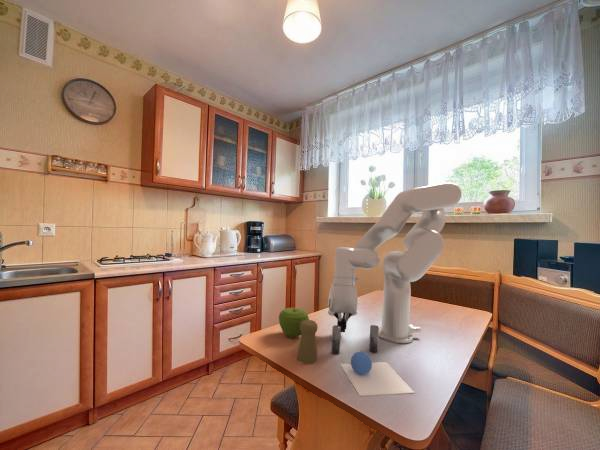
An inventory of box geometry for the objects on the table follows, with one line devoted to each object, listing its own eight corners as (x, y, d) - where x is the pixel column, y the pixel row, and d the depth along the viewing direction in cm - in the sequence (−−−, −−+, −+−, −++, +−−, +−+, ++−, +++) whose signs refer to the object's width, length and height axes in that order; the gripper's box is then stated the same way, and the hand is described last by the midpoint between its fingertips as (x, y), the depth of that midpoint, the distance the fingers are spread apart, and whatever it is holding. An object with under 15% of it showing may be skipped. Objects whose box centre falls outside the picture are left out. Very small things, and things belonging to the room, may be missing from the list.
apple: (314, 337, 92) (315, 309, 92) (291, 345, 85) (293, 314, 85) (293, 327, 100) (295, 301, 100) (271, 334, 93) (273, 306, 93)
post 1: (338, 350, 83) (339, 325, 83) (340, 354, 80) (341, 328, 80) (330, 350, 82) (331, 325, 82) (332, 354, 80) (333, 328, 80)
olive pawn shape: (296, 353, 79) (298, 317, 80) (315, 353, 80) (317, 317, 80) (297, 363, 73) (299, 324, 74) (318, 363, 74) (320, 325, 74)
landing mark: (385, 362, 77) (385, 362, 77) (414, 393, 63) (414, 392, 63) (340, 364, 74) (340, 363, 74) (359, 396, 60) (359, 395, 60)
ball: (375, 364, 67) (372, 381, 68) (371, 347, 72) (368, 364, 74) (353, 361, 67) (350, 378, 69) (351, 345, 72) (348, 361, 74)
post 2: (375, 349, 85) (376, 325, 85) (378, 353, 82) (380, 328, 82) (367, 349, 84) (369, 325, 85) (371, 353, 82) (372, 328, 82)
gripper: (359, 279, 100) (356, 326, 100) (321, 278, 98) (319, 327, 98) (367, 283, 93) (364, 334, 93) (327, 282, 90) (324, 335, 90)
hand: (341, 330), depth 95 cm, fingers closed
